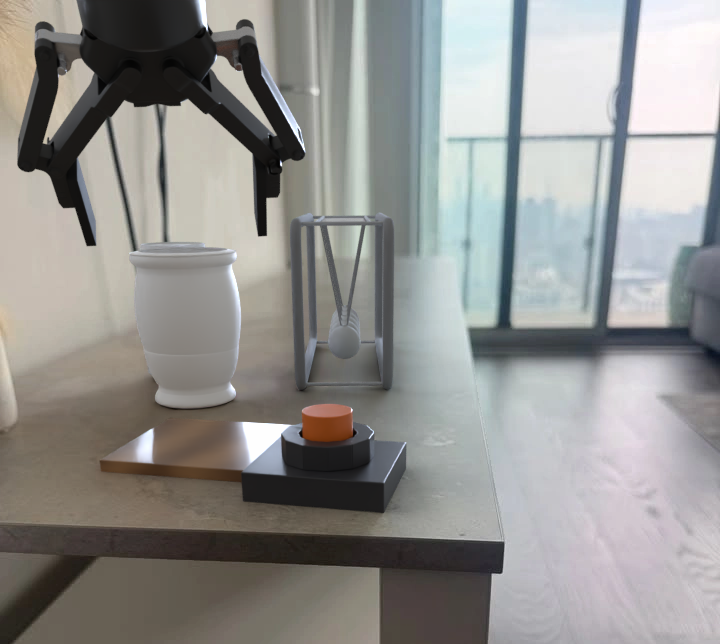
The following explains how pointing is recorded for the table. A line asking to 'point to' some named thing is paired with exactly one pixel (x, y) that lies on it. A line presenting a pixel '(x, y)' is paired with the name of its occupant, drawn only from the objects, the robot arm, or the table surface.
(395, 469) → the switch block
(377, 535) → the table surface
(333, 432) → the button
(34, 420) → the table surface
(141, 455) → the plate
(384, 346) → the newton's cradle
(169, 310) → the jar
